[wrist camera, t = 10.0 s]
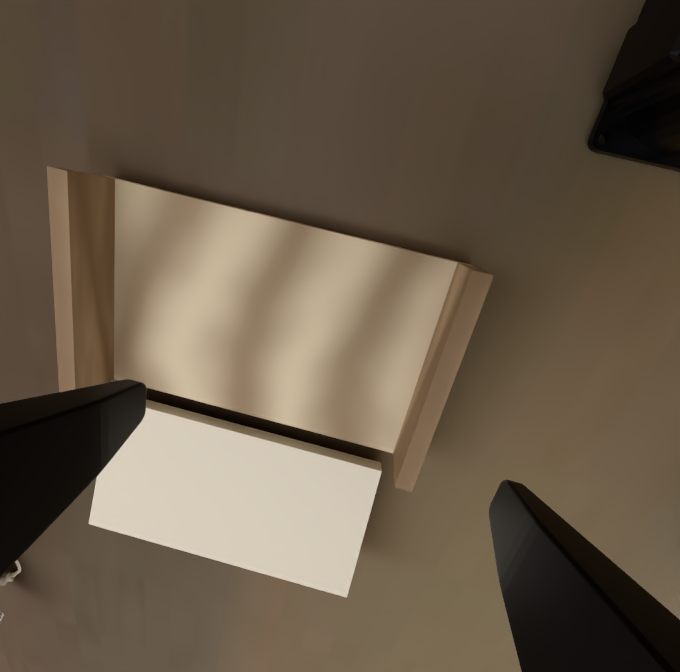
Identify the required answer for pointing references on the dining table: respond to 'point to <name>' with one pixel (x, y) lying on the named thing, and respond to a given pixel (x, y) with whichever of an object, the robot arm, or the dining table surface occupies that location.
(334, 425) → the tray
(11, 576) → the rocket engine
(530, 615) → the robot arm
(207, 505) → the panel
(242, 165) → the dining table surface
